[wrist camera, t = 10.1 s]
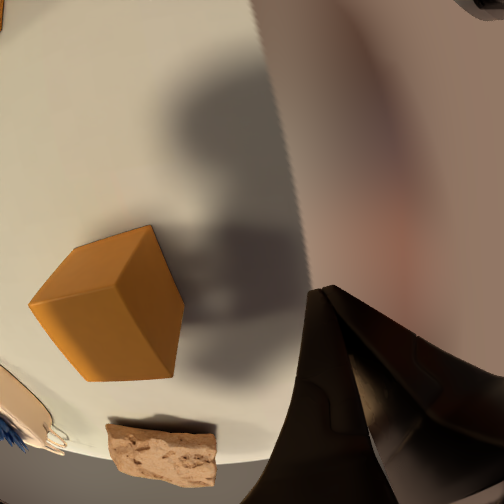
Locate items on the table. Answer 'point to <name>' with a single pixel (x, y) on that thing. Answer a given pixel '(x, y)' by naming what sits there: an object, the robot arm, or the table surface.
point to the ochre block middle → (114, 309)
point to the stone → (164, 455)
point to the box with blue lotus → (23, 416)
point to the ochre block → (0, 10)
